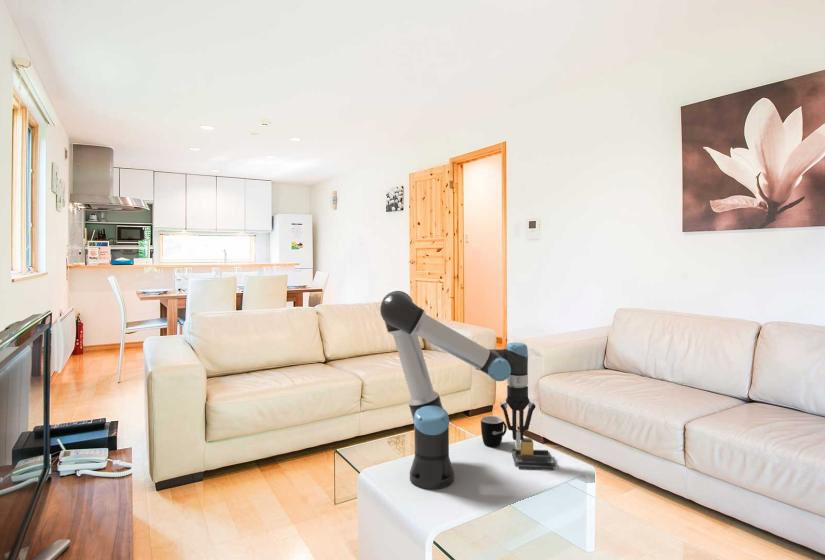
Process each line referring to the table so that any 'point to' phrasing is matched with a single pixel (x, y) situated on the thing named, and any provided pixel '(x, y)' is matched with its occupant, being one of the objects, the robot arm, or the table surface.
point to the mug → (492, 430)
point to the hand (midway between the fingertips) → (518, 448)
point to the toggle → (526, 446)
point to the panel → (533, 458)
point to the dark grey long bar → (536, 467)
